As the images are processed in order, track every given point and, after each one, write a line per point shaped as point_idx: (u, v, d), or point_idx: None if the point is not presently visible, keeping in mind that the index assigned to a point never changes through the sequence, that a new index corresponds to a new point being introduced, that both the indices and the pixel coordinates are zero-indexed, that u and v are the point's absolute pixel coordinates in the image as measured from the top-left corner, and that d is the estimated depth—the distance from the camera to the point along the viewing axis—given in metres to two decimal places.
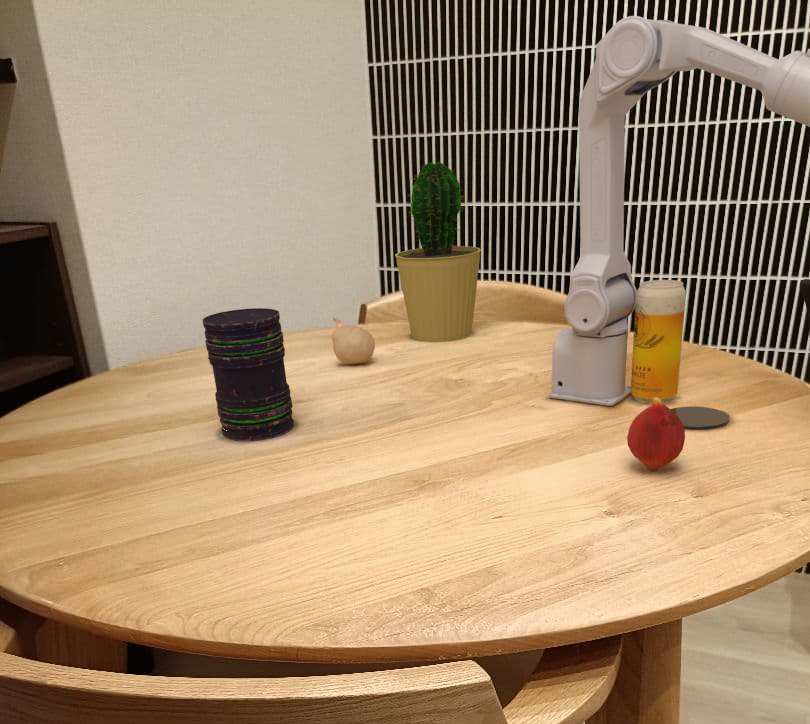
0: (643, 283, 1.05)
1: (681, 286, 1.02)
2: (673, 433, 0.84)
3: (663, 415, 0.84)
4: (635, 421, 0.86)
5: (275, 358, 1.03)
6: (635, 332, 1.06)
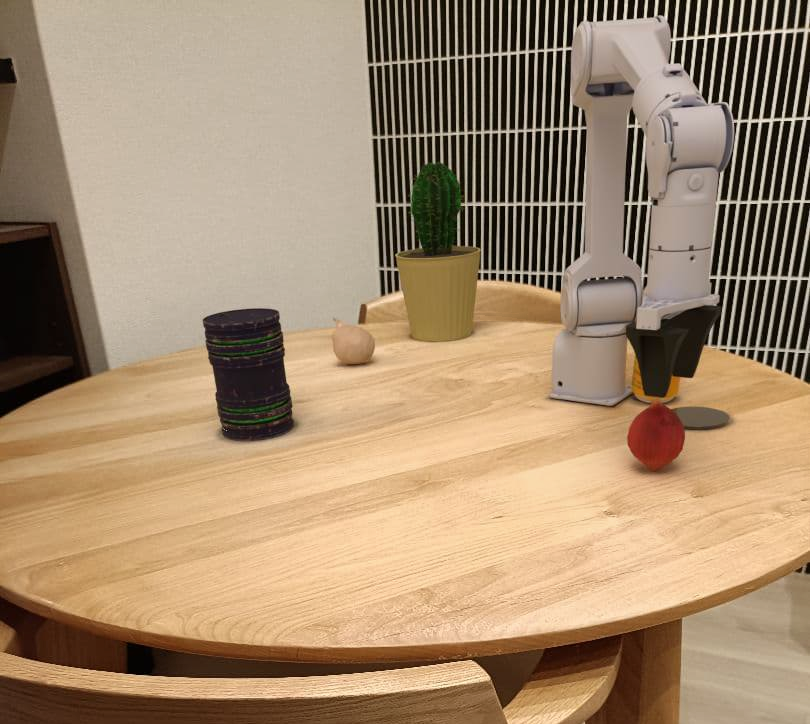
0: None
1: None
2: (673, 433, 0.84)
3: (663, 415, 0.84)
4: (635, 421, 0.86)
5: (275, 358, 1.03)
6: None
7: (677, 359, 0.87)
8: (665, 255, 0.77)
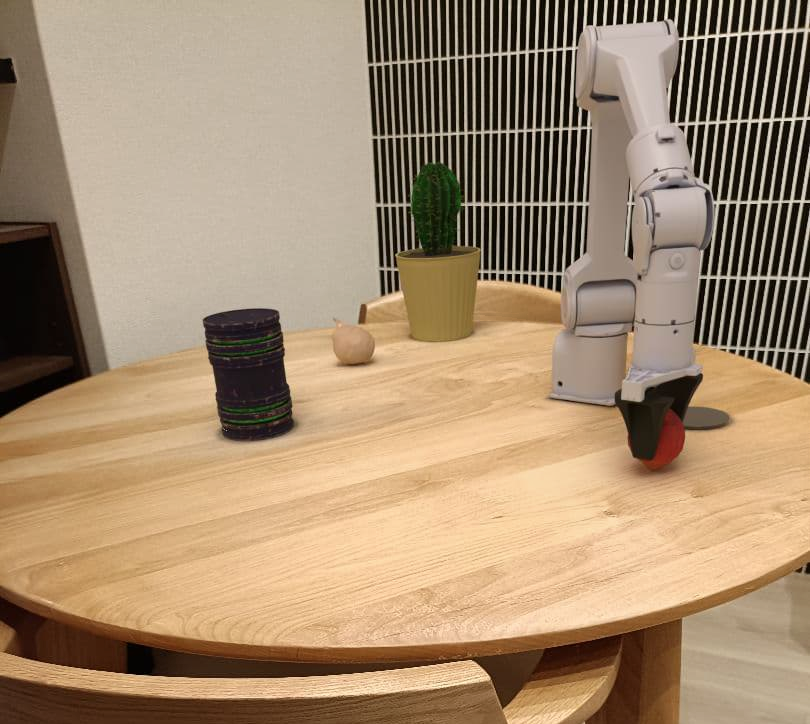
0: None
1: None
2: (673, 433, 0.84)
3: None
4: None
5: (275, 358, 1.03)
6: None
7: None
8: (649, 328, 0.79)
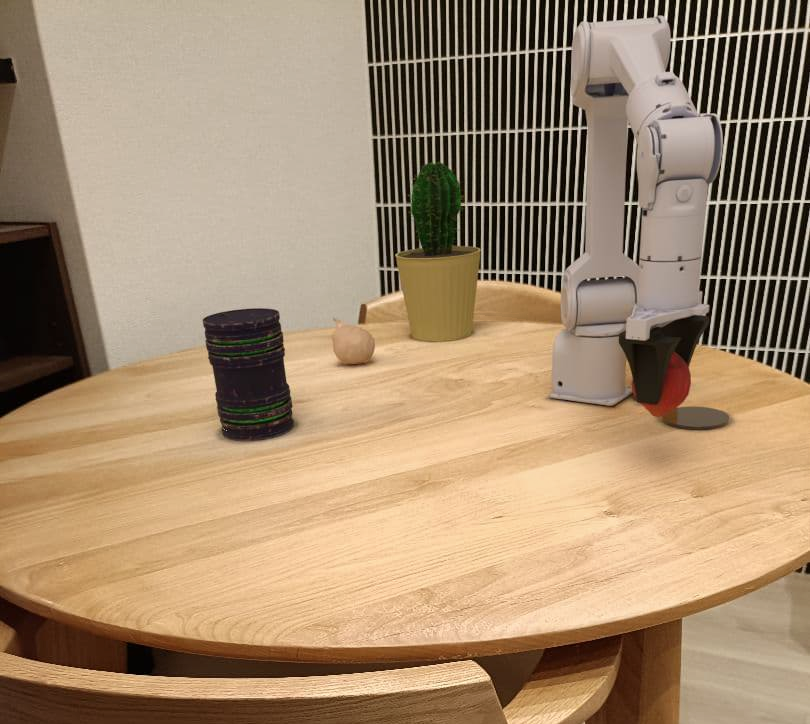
0: None
1: None
2: (679, 377, 0.82)
3: None
4: None
5: (275, 358, 1.03)
6: None
7: None
8: (655, 265, 0.77)
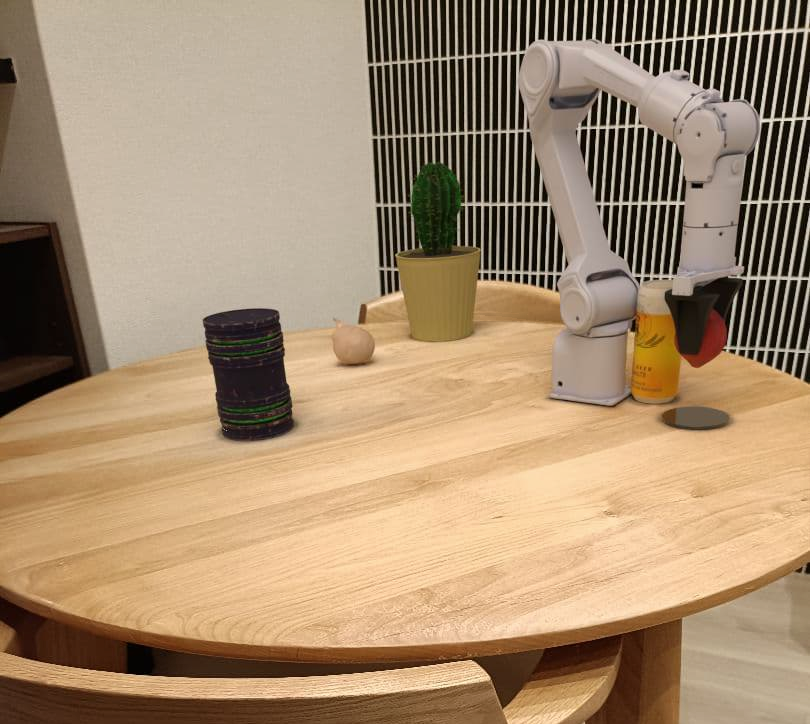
0: (645, 282, 1.05)
1: None
2: (717, 330, 0.93)
3: None
4: None
5: (275, 358, 1.03)
6: (636, 331, 1.06)
7: None
8: (697, 231, 0.89)
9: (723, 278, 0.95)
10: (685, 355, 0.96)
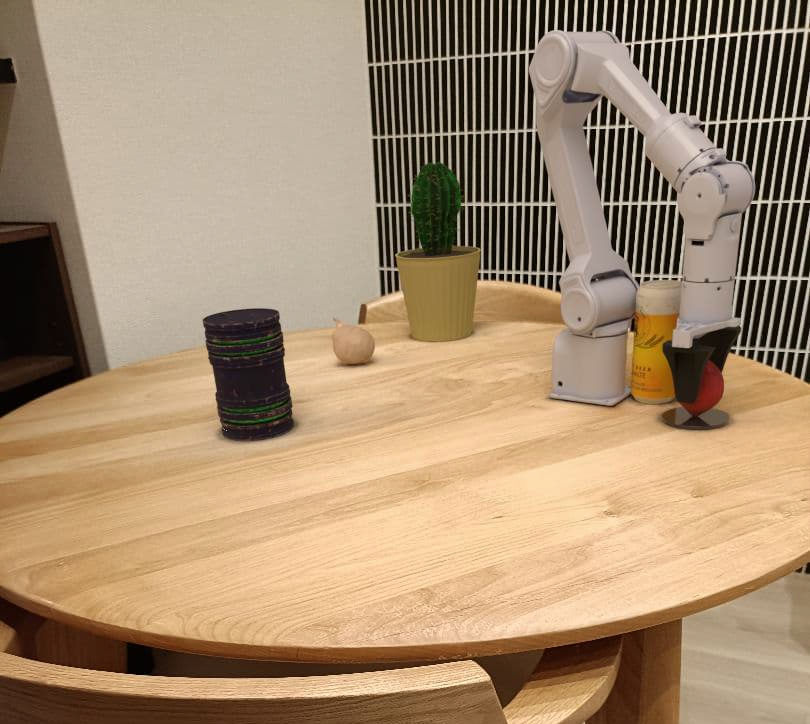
0: (643, 283, 1.05)
1: (681, 286, 1.02)
2: (715, 382, 0.97)
3: (706, 366, 0.97)
4: None
5: (275, 358, 1.03)
6: (635, 332, 1.06)
7: None
8: (696, 285, 0.93)
9: None
10: (684, 405, 1.00)
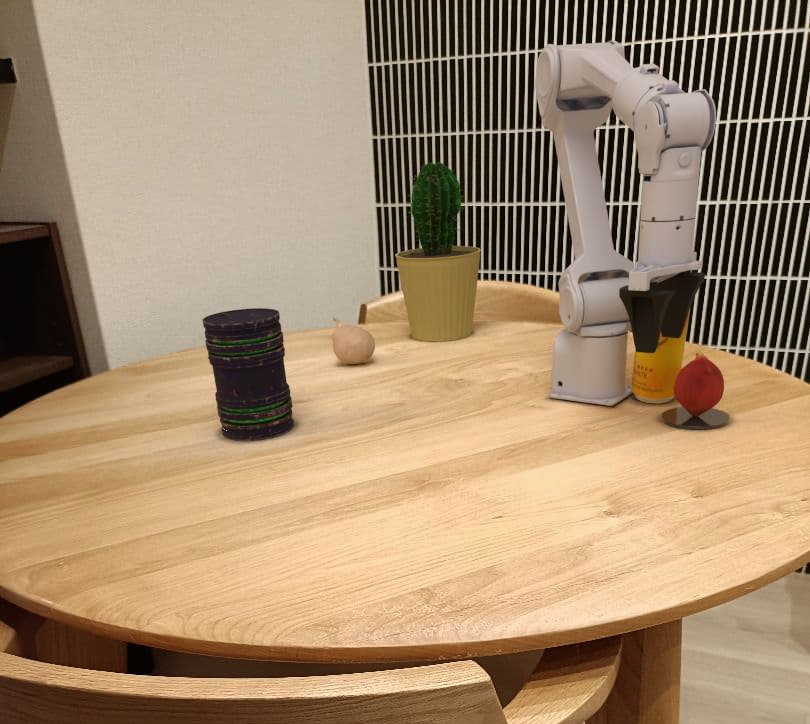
0: None
1: None
2: (715, 382, 0.97)
3: (706, 366, 0.97)
4: (681, 372, 0.99)
5: (275, 358, 1.03)
6: None
7: (666, 321, 0.97)
8: (654, 225, 0.87)
9: (685, 272, 0.94)
10: (684, 405, 1.00)
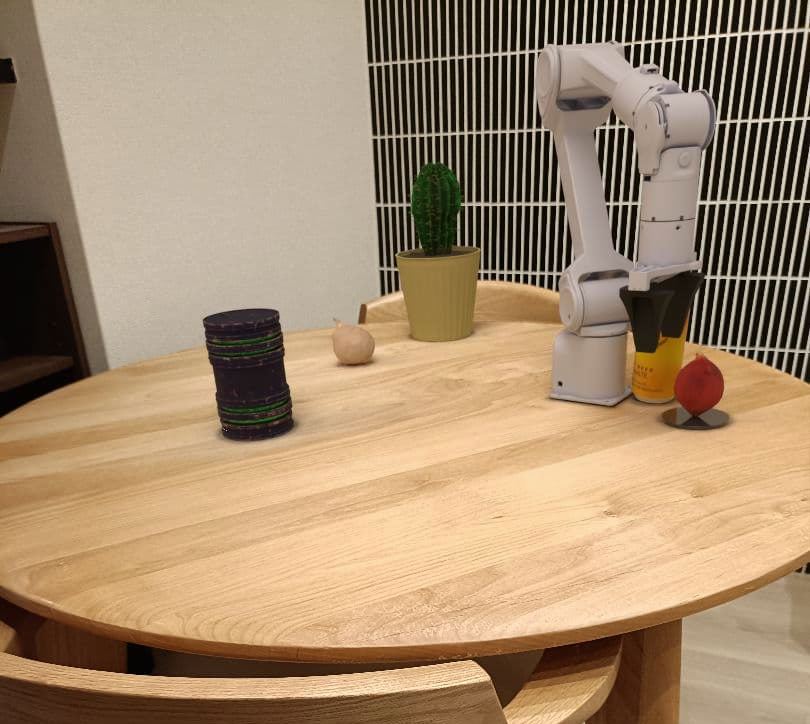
0: None
1: None
2: (715, 382, 0.97)
3: (706, 366, 0.97)
4: (681, 372, 0.99)
5: (275, 358, 1.03)
6: None
7: (666, 321, 0.97)
8: (654, 225, 0.87)
9: (685, 272, 0.94)
10: (684, 405, 1.00)
